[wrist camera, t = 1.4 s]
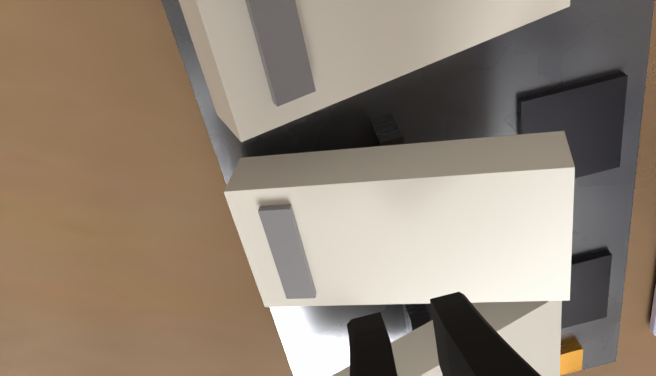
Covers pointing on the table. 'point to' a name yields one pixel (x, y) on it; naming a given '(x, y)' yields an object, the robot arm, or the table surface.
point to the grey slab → (478, 122)
